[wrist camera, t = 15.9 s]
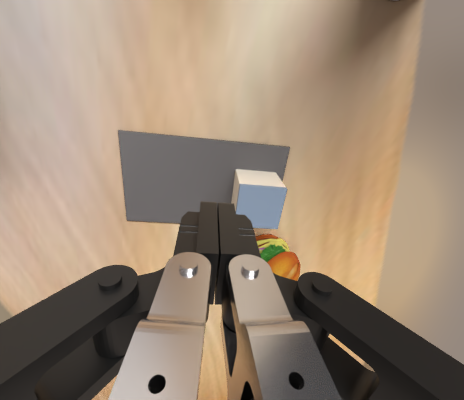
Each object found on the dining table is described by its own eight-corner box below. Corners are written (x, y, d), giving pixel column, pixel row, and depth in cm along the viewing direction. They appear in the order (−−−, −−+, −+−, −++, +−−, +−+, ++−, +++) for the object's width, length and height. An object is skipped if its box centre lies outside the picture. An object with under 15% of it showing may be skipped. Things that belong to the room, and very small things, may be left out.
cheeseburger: (246, 224, 46) (269, 260, 38) (290, 229, 50) (319, 263, 42) (229, 263, 50) (246, 304, 42) (271, 265, 54) (294, 302, 46)
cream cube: (240, 185, 34) (235, 168, 40) (234, 226, 37) (230, 205, 43) (287, 189, 35) (275, 172, 41) (277, 229, 38) (268, 207, 44)
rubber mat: (289, 146, 40) (290, 147, 39) (271, 227, 47) (271, 228, 46) (118, 130, 36) (118, 130, 36) (127, 219, 43) (126, 220, 43)
